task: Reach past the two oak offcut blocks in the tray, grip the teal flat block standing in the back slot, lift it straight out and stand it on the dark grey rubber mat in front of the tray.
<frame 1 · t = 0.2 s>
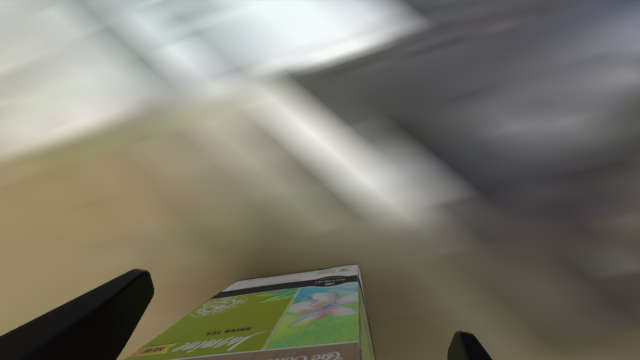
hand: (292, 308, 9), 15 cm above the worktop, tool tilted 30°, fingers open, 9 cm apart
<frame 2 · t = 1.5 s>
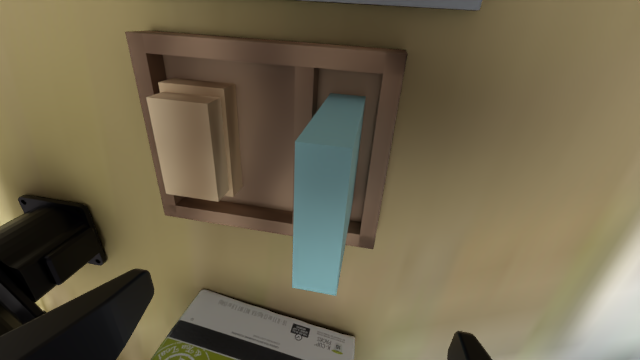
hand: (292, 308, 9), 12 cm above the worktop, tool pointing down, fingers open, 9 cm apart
teal flat block: (342, 152, 19), point 1 cm above the worktop, touching tray
tea box: (271, 338, 31), on the worktop
tray: (279, 140, 20), on the worktop
offcut lower: (210, 135, 20), point 1 cm above the worktop, touching offcut upper, tray
offcut upper: (198, 143, 19), point 2 cm above the worktop, touching offcut lower
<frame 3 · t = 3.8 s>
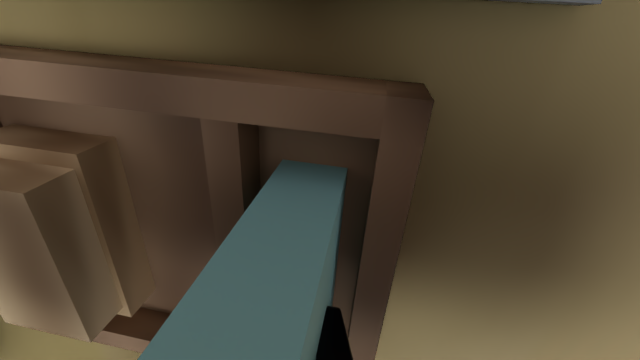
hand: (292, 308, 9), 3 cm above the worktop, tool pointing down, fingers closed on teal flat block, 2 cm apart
teal flat block: (309, 252, 11), point 1 cm above the worktop, touching gripper, tray
tray: (206, 224, 12), on the worktop
offcut lower: (92, 215, 12), point 1 cm above the worktop, touching offcut upper, tray
offcut upper: (57, 239, 11), point 2 cm above the worktop, touching offcut lower
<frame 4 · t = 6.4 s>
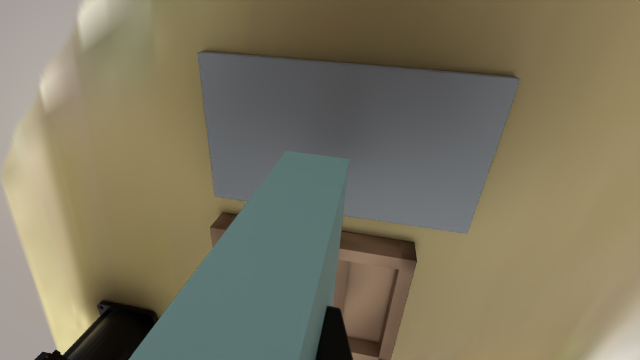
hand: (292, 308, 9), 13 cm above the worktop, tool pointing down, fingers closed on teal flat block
teal flat block: (311, 243, 11), point 10 cm above the worktop, touching gripper
mat: (341, 143, 20), on the worktop
tray: (316, 284, 26), on the worktop
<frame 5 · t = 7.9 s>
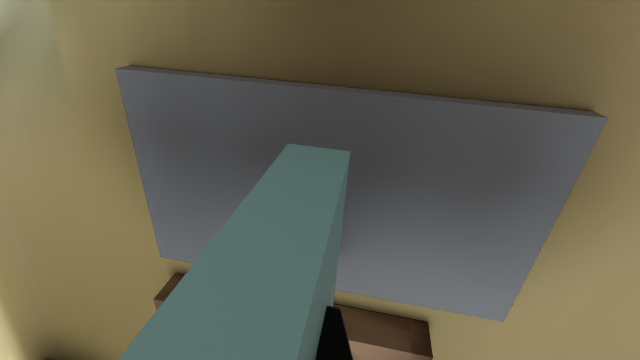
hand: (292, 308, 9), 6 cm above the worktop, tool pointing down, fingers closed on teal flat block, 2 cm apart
teal flat block: (313, 236, 11), point 3 cm above the worktop, touching gripper
mat: (328, 196, 14), on the worktop
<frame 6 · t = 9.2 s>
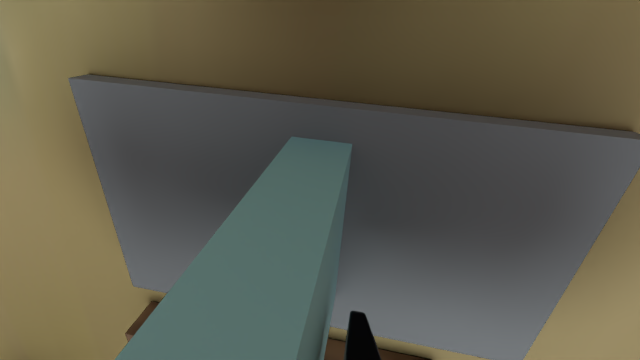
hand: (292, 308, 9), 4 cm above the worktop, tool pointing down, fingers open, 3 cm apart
teal flat block: (316, 227, 12), point 1 cm above the worktop, touching mat
mat: (319, 223, 13), on the worktop
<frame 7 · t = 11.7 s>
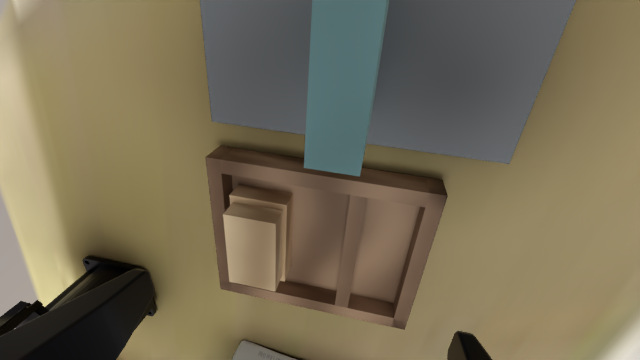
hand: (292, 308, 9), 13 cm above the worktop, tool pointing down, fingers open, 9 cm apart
teal flat block: (362, 44, 16), point 1 cm above the worktop, touching mat
mat: (363, 50, 17), on the worktop
tray: (325, 234, 23), on the worktop
offcut lower: (266, 228, 23), point 1 cm above the worktop, touching offcut upper, tray
offcut upper: (258, 241, 22), point 2 cm above the worktop, touching offcut lower
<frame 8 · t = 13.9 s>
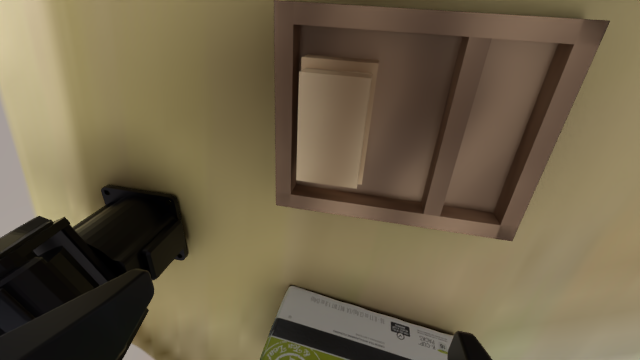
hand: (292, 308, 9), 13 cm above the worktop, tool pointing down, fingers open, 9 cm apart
tea box: (356, 338, 29), on the worktop
tray: (412, 123, 19), on the worktop
offcut lower: (337, 118, 19), point 1 cm above the worktop, touching offcut upper, tray
offcut upper: (334, 125, 18), point 2 cm above the worktop, touching offcut lower
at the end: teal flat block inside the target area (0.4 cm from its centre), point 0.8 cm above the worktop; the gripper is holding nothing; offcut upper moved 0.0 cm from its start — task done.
